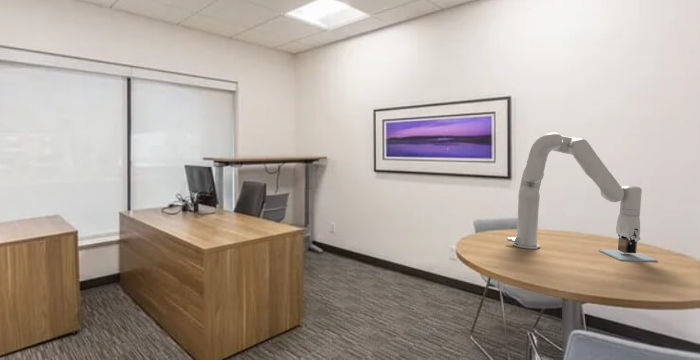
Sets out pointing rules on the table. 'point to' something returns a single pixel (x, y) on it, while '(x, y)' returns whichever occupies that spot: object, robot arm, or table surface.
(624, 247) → the walnut block
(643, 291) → the table surface
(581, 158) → the robot arm
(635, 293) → the table surface
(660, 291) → the table surface
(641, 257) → the slate board
